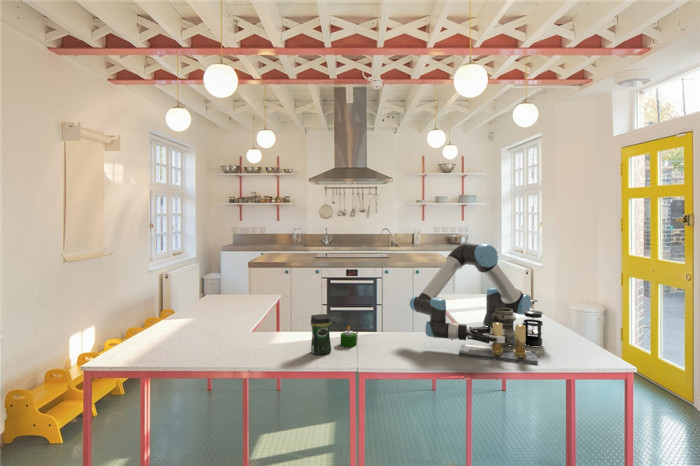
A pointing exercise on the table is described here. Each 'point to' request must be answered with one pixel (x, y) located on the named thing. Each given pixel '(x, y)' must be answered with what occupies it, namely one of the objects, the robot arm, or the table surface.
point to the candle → (348, 338)
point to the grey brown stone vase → (505, 323)
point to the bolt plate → (508, 354)
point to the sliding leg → (497, 332)
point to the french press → (532, 339)
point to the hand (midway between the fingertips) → (504, 336)
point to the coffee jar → (320, 334)
